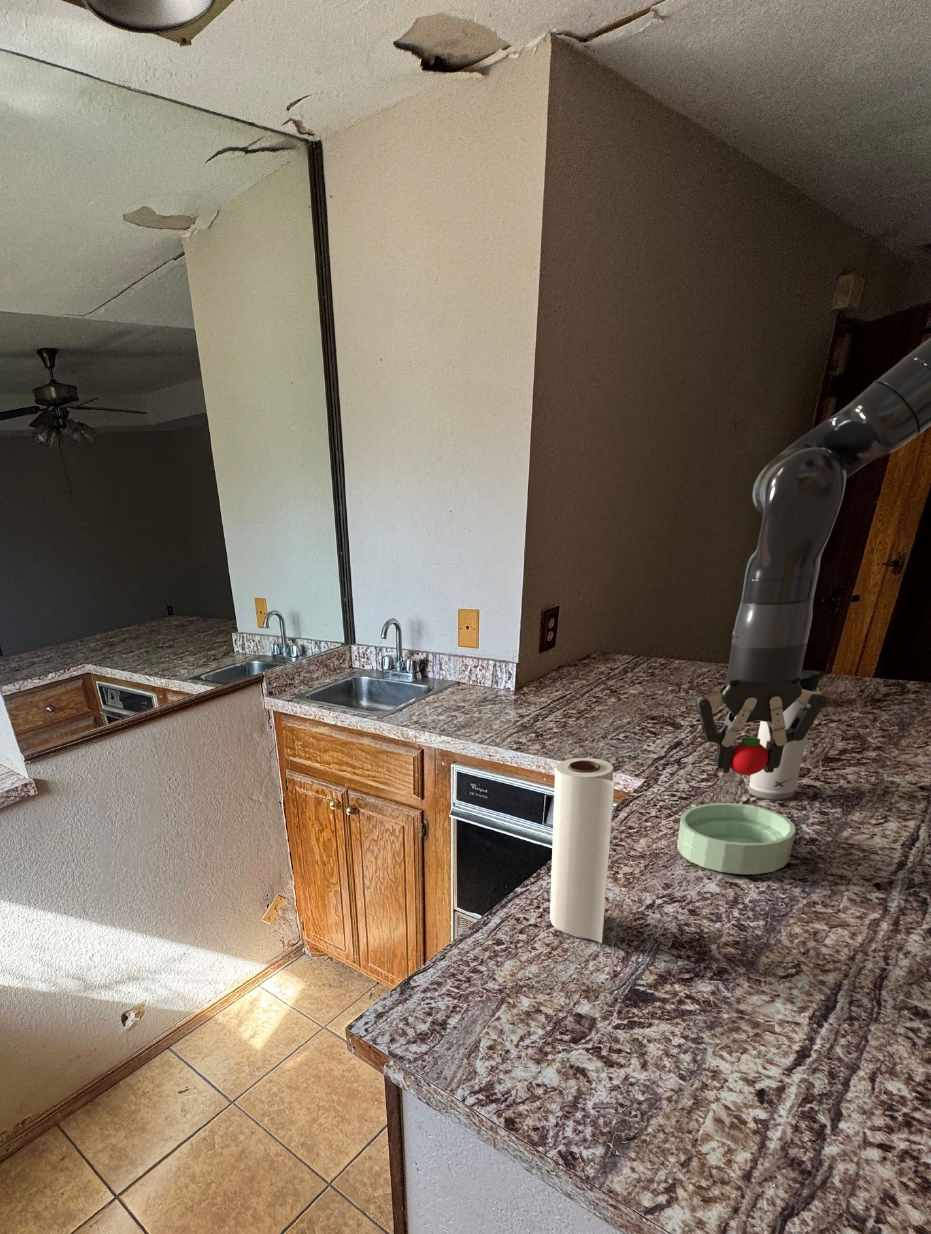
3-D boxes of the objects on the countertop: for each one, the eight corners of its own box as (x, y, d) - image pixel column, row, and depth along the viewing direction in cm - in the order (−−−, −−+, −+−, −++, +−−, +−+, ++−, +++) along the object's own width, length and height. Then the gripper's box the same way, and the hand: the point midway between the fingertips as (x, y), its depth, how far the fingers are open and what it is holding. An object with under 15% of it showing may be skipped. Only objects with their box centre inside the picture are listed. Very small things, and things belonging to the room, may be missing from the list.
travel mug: (786, 804, 102) (813, 678, 93) (740, 794, 107) (762, 673, 98) (803, 791, 105) (831, 668, 96) (758, 782, 110) (780, 664, 101)
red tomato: (770, 771, 85) (776, 736, 83) (758, 782, 83) (765, 747, 81) (732, 765, 88) (738, 732, 86) (720, 776, 86) (725, 742, 84)
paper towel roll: (551, 907, 86) (556, 755, 76) (601, 911, 83) (613, 755, 74) (548, 939, 80) (553, 779, 70) (601, 944, 77) (615, 779, 68)
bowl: (801, 848, 90) (808, 816, 88) (768, 888, 83) (775, 854, 81) (698, 825, 100) (702, 796, 97) (660, 860, 92) (664, 829, 90)
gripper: (707, 649, 77) (689, 781, 85) (854, 640, 72) (821, 781, 80) (695, 637, 83) (679, 761, 91) (829, 627, 79) (801, 760, 86)
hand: (745, 770), depth 85 cm, fingers closed on red tomato, 4 cm apart
